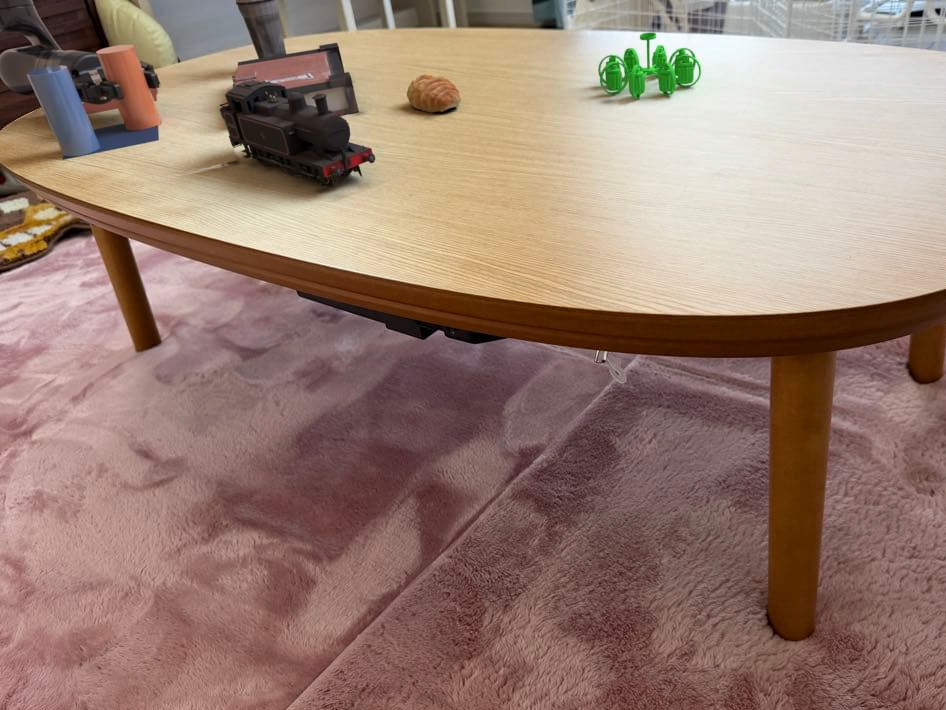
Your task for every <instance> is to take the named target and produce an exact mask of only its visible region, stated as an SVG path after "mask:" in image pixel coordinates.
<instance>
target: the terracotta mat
mask: <svg viewBox="0 0 946 710" xmlns="http://www.w3.org/2000/svg"><path fill="white" fill-rule="evenodd" d="M150 91H151V94H152V97H153V99H154V102H155V103H156V102H157V101H158V96H157V95H158V88H156V89H152V88H150ZM83 106H84V108H85V111H86V113H87V115H91V114H92V115H93V114H97V113H102V112H108V111H113V110H118V107H117V105H116V102H115V100H114V99H113V100H111V101H110V102H108V103H106V104H101V105H96V104H90V103H85V102H83Z"/></svg>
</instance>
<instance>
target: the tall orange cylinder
mask: <svg viewBox="0 0 946 710" xmlns="http://www.w3.org/2000/svg"><path fill="white" fill-rule="evenodd" d="M95 53H96V54H97V57H98V59H99V62H100V64H101V67H102V69H103V72H104V74H105V77H106V79H107V81H108V82H114V83H118V84H119V86H120V89H121V91H122V94H123V96H124V98H123V99H120V100H116V99H114V100H115V102H116V105H117V107H118V109H117V110H118V112H119V115H120V118H121V120H122V123H124V125H125V127H126V129H127V130H129V131H139V130H145V129H149V128H153V127H155V126H157V125H158V126H159V125H161V124H162V123H163V122H162V118H161V116H160V114H159V111H158V108H157V105H156V101H155V102H154V99H153V97H152V94H151V91H150V88H149V86H148V83H147V80H146V78H145V75H144V72H143V69H142V67H141V64H140V61H141V60H140V59H139V56H138V53H137V50H136V48H135V45H133V44H119V45H112V46H108V47H104V48H101V49H98V50H97V51H96V52H95Z"/></svg>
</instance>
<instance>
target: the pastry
mask: <svg viewBox="0 0 946 710" xmlns="http://www.w3.org/2000/svg"><path fill="white" fill-rule="evenodd" d="M406 98H407V100H408V102H409V104H410V105H411V106H413V107H414V108H415V109H417V110H421V111H424V112H427V113H432V114H433V113H436V112H440V113H443V112H444V111H447V110H449V109H451V108H456V107H459V106H460V103H461V102H462V97H461V95H460V91H459V89H458V88H457V86H456V85H455V84H454V83H452V81H451V80H450V79H449V78H445V77H444V76H435V75H432V74H427V73H426V74H420V75H419V76H417V77H416V78H415V79H413V80H411V83H410V84H409V85H408V87H407V91H406Z"/></svg>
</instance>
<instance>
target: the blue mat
mask: <svg viewBox="0 0 946 710" xmlns="http://www.w3.org/2000/svg"><path fill="white" fill-rule="evenodd" d="M93 130H94V132H95V134H96V137H97V139H98V142H99V144H100V149H98V150H97V151H95V152H92V153H90V154H86V155H82V156H77V157H65V156H64V155H63V156H62V161H65V160H70V159H73V158H74V159H75V158H81V157H84V156H91V155H94V154H99V153H104V152H108V151H113V150H118V149H125V148H129V147H134V146H137V145H142V144H147V143H152V142H153V143H154V142H158V141H160V134H159V132H160V131H159V125H157V126H155V127H153V128H149V129H145V130H139V131H129V130H127V129H126V127H125V125H124V122H122V123H118V124H114V125H108V126H105V127H104V126H103V127H99V128H93Z"/></svg>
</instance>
